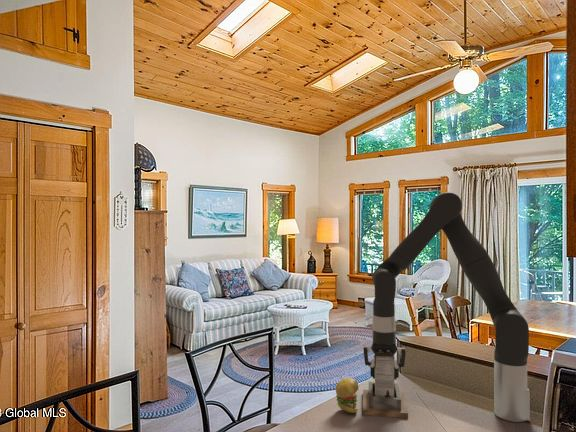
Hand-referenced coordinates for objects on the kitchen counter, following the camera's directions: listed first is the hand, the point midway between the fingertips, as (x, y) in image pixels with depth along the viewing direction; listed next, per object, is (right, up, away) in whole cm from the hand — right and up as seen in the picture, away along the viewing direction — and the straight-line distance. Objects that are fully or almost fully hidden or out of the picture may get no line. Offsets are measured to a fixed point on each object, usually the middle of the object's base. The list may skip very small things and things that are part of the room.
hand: (384, 378), depth 143 cm
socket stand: (0, -9, 0) cm, 9 cm away
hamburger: (-13, -9, -5) cm, 17 cm away
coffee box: (0, -7, 0) cm, 7 cm away
